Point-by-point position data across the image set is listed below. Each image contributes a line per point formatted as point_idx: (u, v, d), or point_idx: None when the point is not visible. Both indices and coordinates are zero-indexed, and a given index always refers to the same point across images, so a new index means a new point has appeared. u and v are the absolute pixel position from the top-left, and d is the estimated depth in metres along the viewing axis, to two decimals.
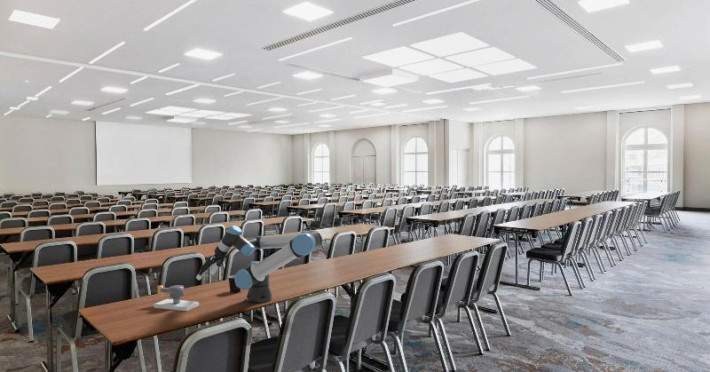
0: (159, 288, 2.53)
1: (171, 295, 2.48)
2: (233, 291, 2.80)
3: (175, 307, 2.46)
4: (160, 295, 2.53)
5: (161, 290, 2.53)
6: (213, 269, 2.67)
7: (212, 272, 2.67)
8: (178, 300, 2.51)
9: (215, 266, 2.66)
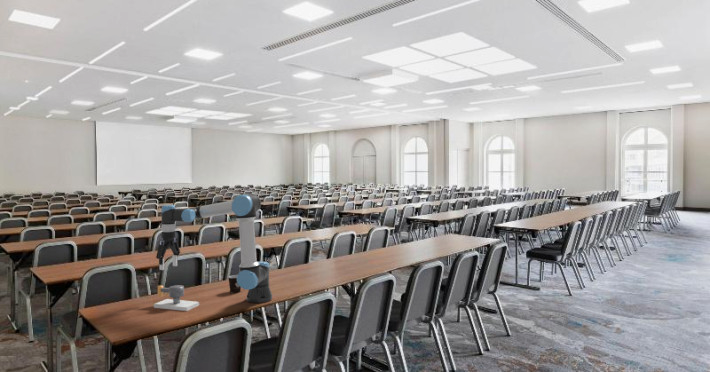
0: (159, 288, 2.53)
1: (171, 295, 2.48)
2: (233, 291, 2.80)
3: (175, 307, 2.46)
4: (160, 295, 2.53)
5: (161, 290, 2.53)
6: (174, 260, 2.66)
7: (174, 264, 2.66)
8: (178, 300, 2.51)
9: (174, 256, 2.66)
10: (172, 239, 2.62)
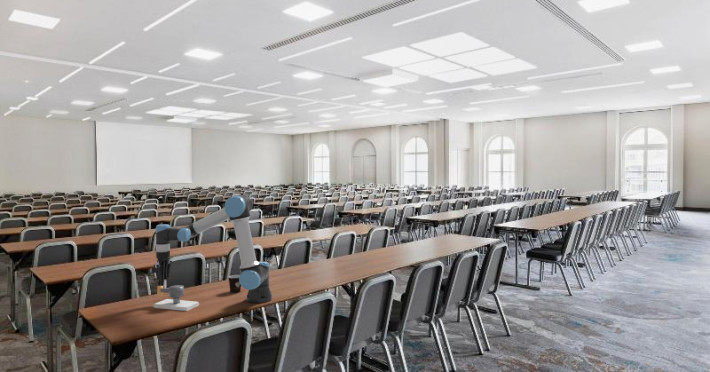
0: (159, 288, 2.53)
1: (171, 295, 2.48)
2: (233, 291, 2.80)
3: (175, 307, 2.46)
4: (160, 295, 2.53)
5: (161, 290, 2.53)
6: None
7: None
8: (178, 300, 2.51)
9: None
10: (167, 258, 2.59)
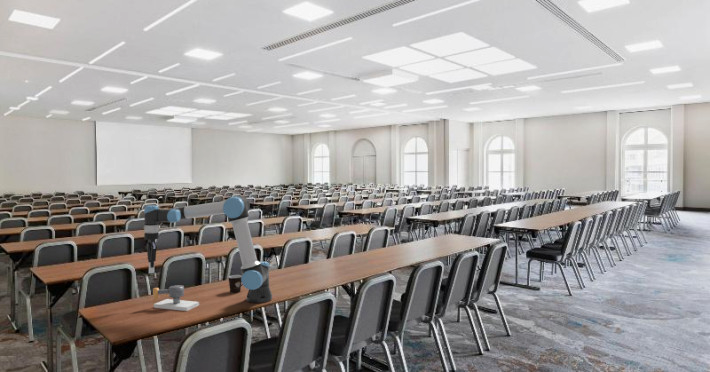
0: (156, 290, 2.48)
1: (174, 295, 2.48)
2: (233, 291, 2.80)
3: (175, 307, 2.46)
4: (157, 297, 2.49)
5: (158, 292, 2.49)
6: None
7: None
8: (178, 300, 2.51)
9: None
10: None
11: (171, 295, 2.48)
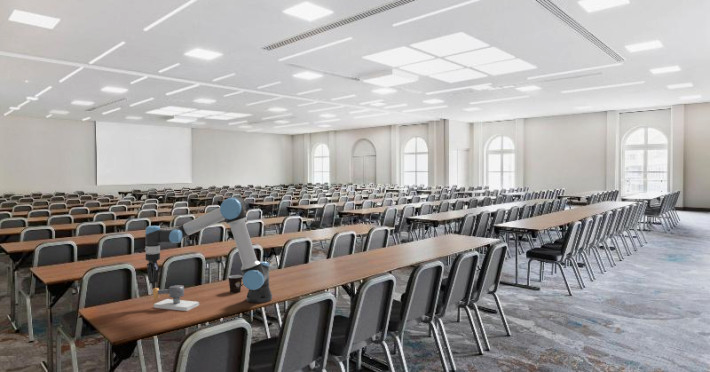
0: (156, 290, 2.48)
1: (174, 295, 2.48)
2: (233, 291, 2.80)
3: (175, 307, 2.46)
4: (157, 297, 2.49)
5: (158, 292, 2.49)
6: None
7: None
8: (178, 300, 2.51)
9: None
10: None
11: (171, 295, 2.48)
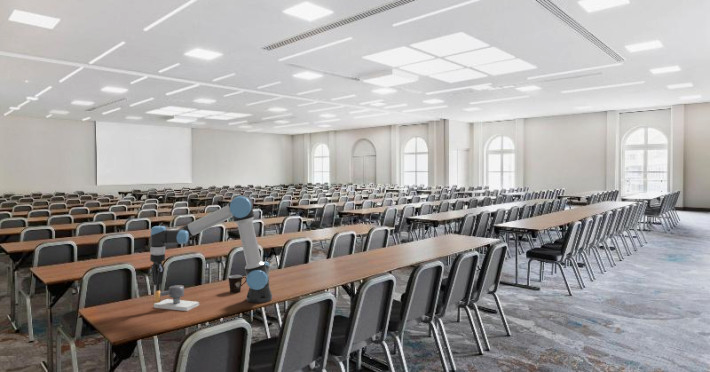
0: (159, 293, 2.43)
1: (179, 295, 2.49)
2: (233, 291, 2.80)
3: (175, 307, 2.46)
4: None
5: (161, 294, 2.44)
6: None
7: None
8: (178, 300, 2.51)
9: None
10: None
11: (175, 295, 2.48)
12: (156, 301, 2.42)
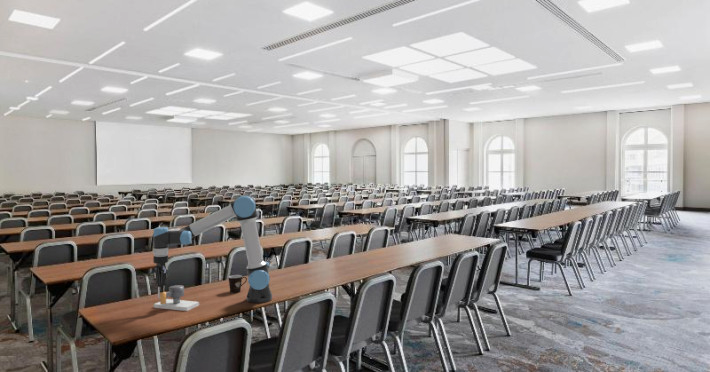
0: (165, 294, 2.41)
1: (182, 294, 2.50)
2: (233, 291, 2.80)
3: (175, 307, 2.46)
4: None
5: (166, 295, 2.42)
6: None
7: None
8: (178, 300, 2.51)
9: None
10: None
11: (179, 295, 2.49)
12: (163, 302, 2.40)
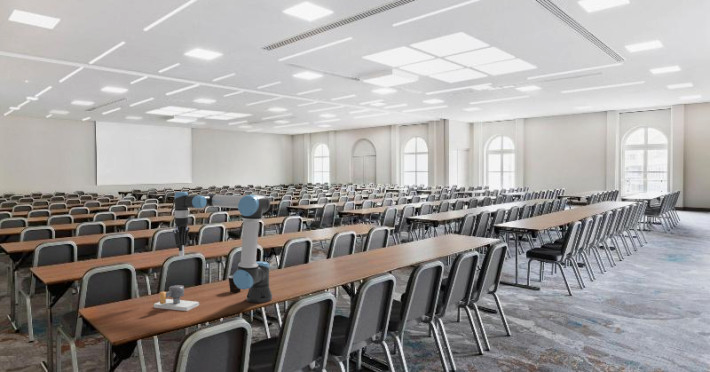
0: (165, 294, 2.41)
1: (181, 294, 2.50)
2: (233, 291, 2.80)
3: (175, 307, 2.46)
4: (165, 301, 2.42)
5: (166, 295, 2.42)
6: None
7: None
8: (178, 300, 2.51)
9: None
10: (185, 224, 2.68)
11: (178, 295, 2.49)
12: (162, 302, 2.40)
